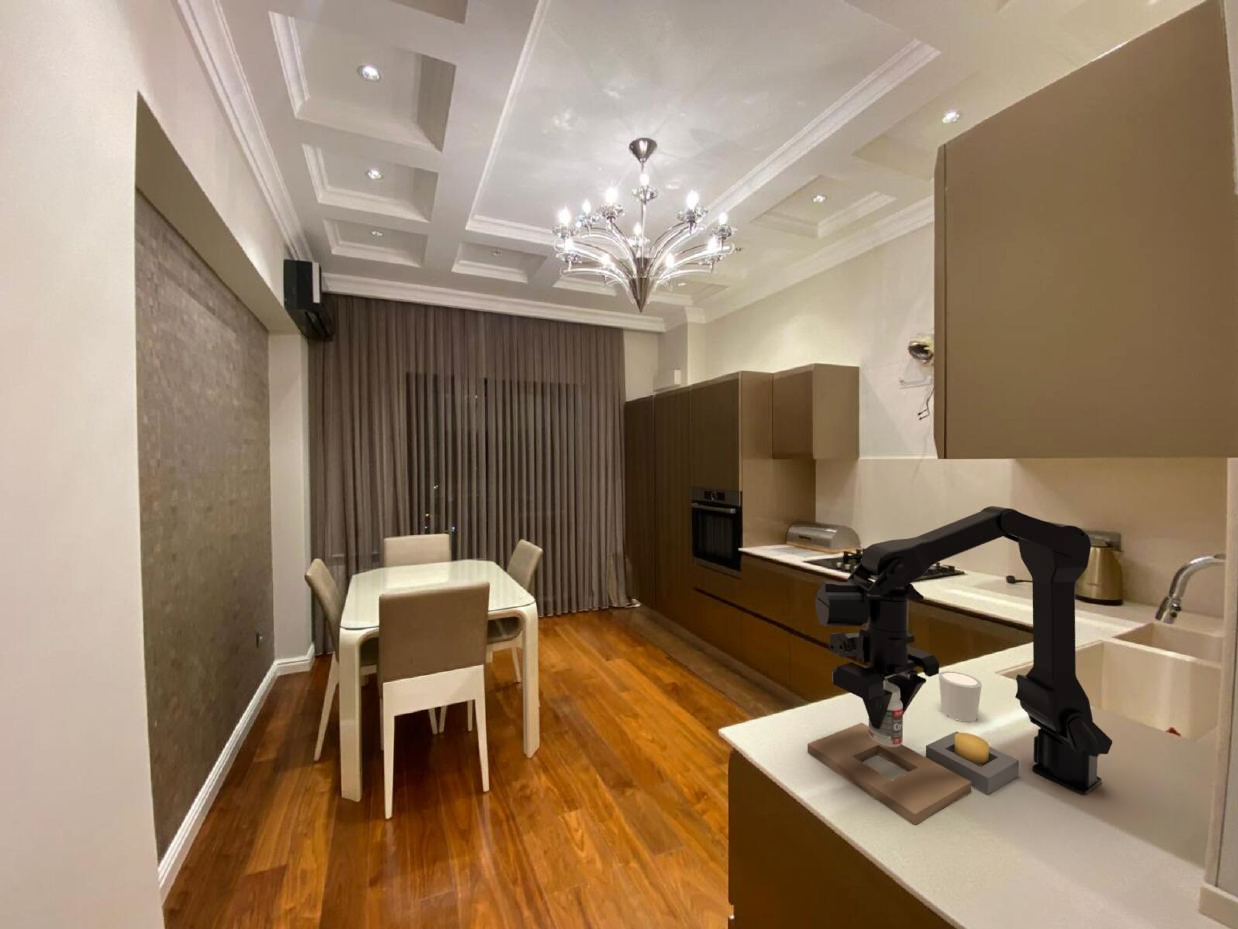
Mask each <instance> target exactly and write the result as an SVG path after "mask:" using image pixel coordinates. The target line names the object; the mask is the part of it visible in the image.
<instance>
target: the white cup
mask: <svg viewBox="0 0 1238 929" xmlns="http://www.w3.org/2000/svg"><path fill="white" fill-rule="evenodd" d="M938 680H939V681H938V682H939V694H940V706H941V712H942V713H943V712H944V713H943V714H944V715H945V716H947V715H948V716H949V717H948V716H947V717H948V718H950V717H951V718H950V719H952V720H955V719H958V720H961V721H960V722H963V721H965V722H964V723H974V722H973V721H975V720H976V719H978V714H979V707H980V700H981V693H982V692H981V691H982V686H983V685H982V681H980V680H979V679H977V678H976V677H974V676H972V675H969V674H966V673H962V672H957V671H949V670H945V671H941V672H939V674H938ZM958 720H957V721H958ZM976 721H977V720H976ZM976 721H975V722H976Z"/></svg>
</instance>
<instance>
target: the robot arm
mask: <svg viewBox="0 0 1238 929" xmlns="http://www.w3.org/2000/svg"><path fill="white" fill-rule="evenodd" d="M1003 537H1004V538H1005V539H1007V540H1009V541H1013V542H1015V543H1017V545H1018V549H1019V554H1020V558H1021V560H1022V562H1023V564H1024V565H1025V567H1026V569H1027V571H1028V572H1029V575H1030V576H1031V579H1032V583H1031V584H1032V636H1033V637H1032V641H1033V642H1032V643H1033V644H1032V650H1033V651H1032V653H1033V654H1032V655H1033V656H1032V658H1033V659H1032V660H1033V662H1032V663H1033V664H1032V667H1031V669H1030V670H1029V671H1028V672H1027V673H1026V674H1025V675H1024V674H1017V675H1016V677H1015V679H1016V685H1017V686H1016V687H1017V689H1016V694H1015V697H1014V698H1015V699H1017V700H1018V701H1019V704H1020V707H1021V709H1022V710H1023V711H1024V712H1025V713H1026V714H1027V716H1028V718H1029V721H1030V723H1032V724H1033V725H1036V726H1037V727H1038V728H1039V729H1037V735H1036V736H1034V737H1033V762H1034V763H1035V764H1034V765H1032V766H1031V770H1032V771H1033V772H1034V773H1037V774H1039V775H1041V776H1043V777H1045V778H1047V779H1049V780H1051V781H1054V782H1056V783H1058V784H1060V785H1062V786H1064V787H1067V788H1069V789H1071V790H1072V791H1075V792H1076V793H1079V794H1081V795H1087V794H1089V793H1090V792H1091V791H1092V790H1093V789H1095V788H1096V787H1097V786H1099V785H1100V784H1101V783H1102V777H1100V776H1098V758H1099V756H1100V755H1108V754H1109V751H1110V750H1111V748H1112V746H1113V740H1112V739H1111V738H1110V737H1109V736H1108V735H1107V734H1106V732H1104V731H1103V729H1101V728H1100V727H1099V726H1098V725H1097V724H1096V723H1095V722H1094V720H1093V719H1094V718H1093V715H1092V714H1093V713H1092V709H1091V702H1090V698H1089V697H1088V695H1087V693H1086V691H1085V690H1084V688H1083V686H1082V685H1081V682H1080V680H1078V679H1079V678H1078V677H1077V673H1076V669H1077V668H1076V662H1077V661H1076V660H1077V659H1076V658H1077V657H1076V582H1077V581H1078V580H1079V579H1080V578H1081V576H1082V575H1083V573H1085V571H1086V570H1087V569H1088V566H1089V560H1090V557H1091V556H1090V555H1091V549H1092V542H1091V536H1089V534H1087V533H1086V532H1085V531H1084V530H1083V529H1082V528H1081V527H1078V526H1075V525H1070V524H1065V523H1064V524H1063V523H1059V522H1058V523H1057V522H1052V521H1051V522H1050V521H1046V520H1042V519H1040V518H1036V517H1033V516H1030V515H1027V514H1024V513H1022V512H1020V511H1018V510H1016V509H1014V508H1011V507H1009V508H1008V507H1002V506H997V505H995V506H994V505H991V506H987V507H985V508H983V509H981V510H980V511H979V512H975V513H973V514H971V515H968V516H966V517H963V518H960V519H958V520H955V521H954V522H951V523H948V524H946V525H943V526H941V527H938V528H936V529H933V530H931V531H928V532H926V533H923V534H919V535H918V536H915V537H910V538H900V539H899V538H898V539H890V540H886V541H882V542H876V543H873V544H870V545H869V546H867V547H866V548H865V549H864V550H863V551H864V552H863V555H862V557H861V560H860V562H859V563H858V565H856V566H855V568H854V569H853V571H852V572H851V573H850V574H849V575H848V577H847V581H846V582H843V581H831V580H821V582H820V588H819V589H818V591H817V594H816V597H814V599H815V600H814V604H815V613H816V616H817V619H818V621H819V624H820V625H821V626H826V627H827V626H828V627H833V626H834V627H861V626H863V625H864V624H866V627H863V628H860V630H859V631H858V632H851V633H849V632H848V633H845V632H843V631H840V632H833V633H830V634H829V637H828V647H829V649H830V652H831V653H832V654H835V655H836V654H837V657H838V658H844V657H856V661H858V662H860V663H862V664H864V663H866V664H867V666H865V667H864V666H861V665H859V664H857V663H854V662H851V661H850V662H847V663H844V664H841V665H838V666H836V667H835V668H833V669H832V670H831V677H832V678H831V682H832V685H834V686H836V687H838V688H841V690H842V689H843V690H844V691H846V692H848V693H850V694H852V695H853V696H854V695H855V696H856V697H859V698H860V699H862V702H863V704H864V708H865V710H866V713H867V716H868V720H869V719H870V722H871V725H872V726H873V727H874V728H876V729H880V727H881V725H882V722H883V720H884V717H885V714H886V711H887V708H888V705H889V703H890V700H891V697H892V692H890V691H887V690H885V682H889V683H892V684H894V685H896V686H898V687H899V689H900V700H901V702H902V704H903V715H904V714H905V713H906V711H907V709H908V708H909V706H910V704H912V701H913V700H914V698H915V697H916V696H917V694H918V693H919V691H920V689H921V688H922V686H924V684H926V683H927V678H925V677H923V676H920V675H918V674H919V672H918V671H917V670H916V669H917V668H916V667H919V668H921V669H922V672H923V674H924V675H925V676H926V677H929V678H930V677H933V676H936V675H939V673H940V662H939V660H938V659H937V657H936V656H935V655H934V654H932V653H930V652H926V651H924V650H922V649H918V648H915V647H912V646H910V645H909V644H913V643H915V634H911V633H909V601H922V600H924V598H925V597H924V595H923V594H921V593H920V592H919V591H918V590H917V589H916V588H915V586H914V585H913V584H912V583H913V582H915V581H917V580H918V579H920V578H922V577H923V576H925V574H926V573H927V572H928V571H929V569H931V567H932V566H934V565H936V564H938V563H939V562H941V561H944V560H947V559H949V558H951V557H955V556H956V555H959V554H962V553H965V552H967V551H969V550H972V549H975V548H977V547H979V546H982V545H986V544H987V543H990V542H992V541H994V540H997V539H1000V538H1003ZM870 578H873V579H875V580H874V581H873V580H871V579H870Z"/></svg>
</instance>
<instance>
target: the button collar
mask: <svg viewBox="0 0 1238 929" xmlns="http://www.w3.org/2000/svg"><path fill="white" fill-rule="evenodd" d="M957 733H960V731H954V732H952V733H950V734H947V735H945V736H943V737H941V738H939V739H937V740H935V741H933V742H931V743H929V744H926V745H925V757H926V758H928V759H930V760H932V761H934V762H936V763H937V764H939V765H941V766H943V767H945V768H947V769H948V770H950V771H952V772H954V773H956V774H958V775H960V776H961V777H963V778H965V779H967V780H969V781H971V787H973V788H975V789H977V790H978V791H980V792H982V793H984V794H986V795H987V796H989V795H990V794H992V793H993V792H995V791H998V789H1000V788H1002V787H1003V786H1006V785H1007V784H1008V783H1010V782H1011V781H1013V780H1015V779H1016V778H1018V777H1019V770H1020V769H1019V768H1020V765H1019V764H1020V761H1019V759H1016V758H1014V757H1012V756H1010V755H1008V754H1006V753H1004V752H1002V751H999V750H997V749H995V748H993V747H991V746H989V761H988V763H987V764H985V765H981V766H980V765H978V764H974V763H972V762H970V761H968V760H966V759H964V758H962V757H960V756H958V755H956V754H955V734H957Z"/></svg>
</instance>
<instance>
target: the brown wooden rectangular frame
mask: <svg viewBox="0 0 1238 929" xmlns="http://www.w3.org/2000/svg"><path fill="white" fill-rule="evenodd" d="M806 752H807V753H808V754H809V755H810V756H811V757H813V758H815V759H816V760H818V761H819V762H821V763H822V764H824V765H825V766H827V767H828V768H829V769H831V770H833V771H834V772H835V773H837V774H839V775H840V776H842V777H843V778H844V779H846V780H847V781H849V782H850V783H851V784H854V785H855V786H856V787H858V788H859V789H861V790H862V791H864V792H865V793H867V794H868V795H870V796H871V797H873V798H874V799H876V800H877V801H879V802H880V803H882V804H883V805H885V806H886V807H888V808H889V809H890V810H892V811H893V812H894V813H897V815H899V816H901V817H902V818H904V819H905V820H907V821H908V822H909V823H911V824H912V825H914V826H915V825H918V824H919V823H921V822H922V821H925V820H926V819H927V818H929V817H931V816H933V815H935V814H937V812H940V811H941V810H943V809H944V808H946V807H948V806H950V805H951V804H954V803H955V802H957V801H959V800H960V799H962V798H964V797H965V796H966V795H969V794H970V793H971V792H972V786H971V781H969V780H967V779H965V778H963V777H961V776H960V775H958V774H956V773H954V772H952V771H950V770H948V769H947V768H945V767H943V766H941V765H939V764H937V763H936V762H934V761H932V760H930V759H928V758H926V756H924V755H923V754H921V753H919V752H916V751H915V750H913V749H912V748H909V747H908V746H905V745H904V744H903V743H902V744H901V745H900V746H897V747H888V746H884V745H881V744H879V743H877V742H875V741H874V740H872V739H871V738H870V736H869V725H867V724H865V723H863V722H859V723H857V724H854V725H852V726H849V727H847V728H844V729H841V730H840V731H836V732H834V733H832V734H829V735H826V736H824V737H821V738H819V739H816V740H813V741H811V742H809V743H807V751H806ZM876 755H879V756H880V757H881V756H882V757H883V758H885V759H886V760H888V761H889V762H891V763H893V764H895V765H897V766H898V767H900V768H901V769H903V770H905V771H907V772H906V773H904V774H902V775H900V776H898V777H896V778H894V779H892V780H891V779H890V778H888V777H887V776H885V775H883V774H882V773H881V772H878V771H877V770H875V769H874V768H872V767H871V766H869V765H867V764H866V763H864V762H863V761H865V760H867V759H870V758H871V757H874V756H876Z"/></svg>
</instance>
